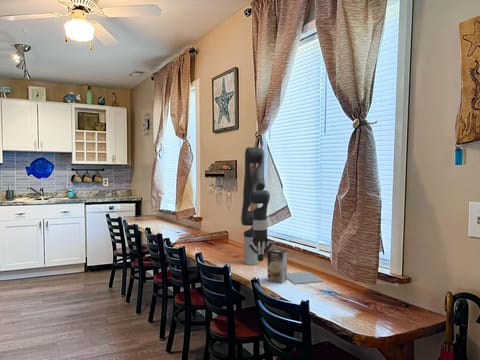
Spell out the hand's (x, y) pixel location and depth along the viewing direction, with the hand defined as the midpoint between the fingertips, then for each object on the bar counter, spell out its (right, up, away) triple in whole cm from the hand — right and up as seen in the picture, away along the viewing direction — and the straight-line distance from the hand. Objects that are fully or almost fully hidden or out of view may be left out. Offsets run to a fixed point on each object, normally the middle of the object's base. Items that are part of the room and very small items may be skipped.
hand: (260, 261), depth 190 cm
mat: (+23, -11, +6) cm, 26 cm away
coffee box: (+9, -11, +3) cm, 15 cm away
